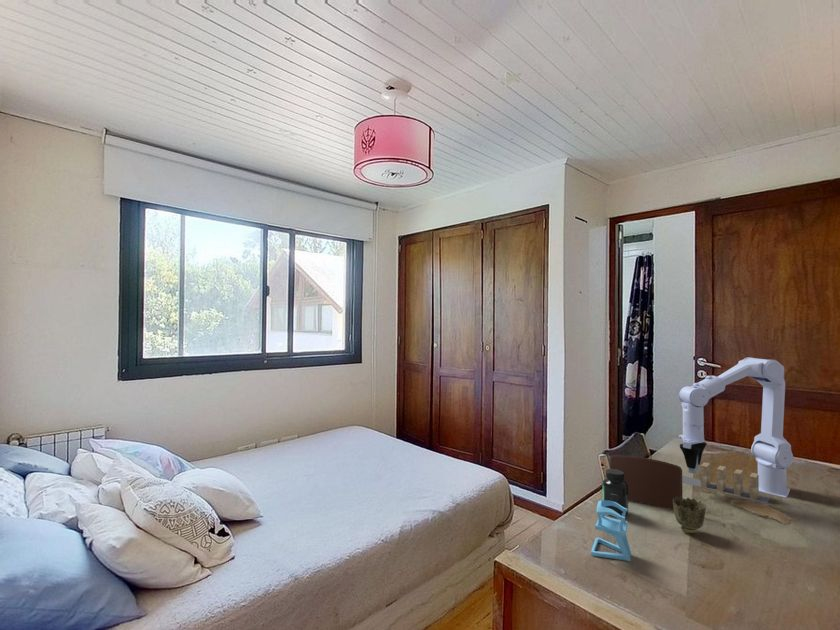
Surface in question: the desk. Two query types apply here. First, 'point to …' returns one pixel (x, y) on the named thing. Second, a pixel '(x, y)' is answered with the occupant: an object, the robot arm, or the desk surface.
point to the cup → (689, 514)
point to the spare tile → (694, 469)
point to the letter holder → (650, 480)
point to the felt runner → (728, 490)
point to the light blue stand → (612, 531)
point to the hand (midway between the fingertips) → (693, 465)
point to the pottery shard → (763, 511)
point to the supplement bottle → (615, 490)
